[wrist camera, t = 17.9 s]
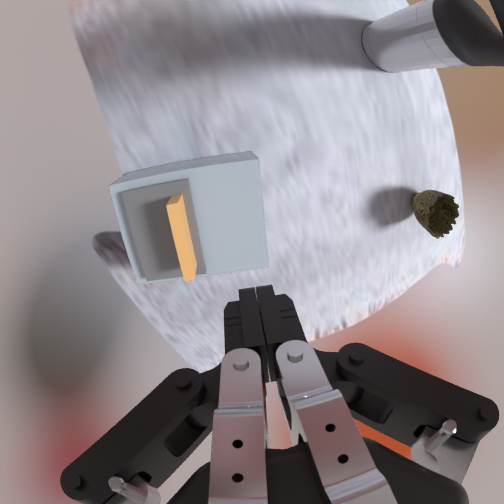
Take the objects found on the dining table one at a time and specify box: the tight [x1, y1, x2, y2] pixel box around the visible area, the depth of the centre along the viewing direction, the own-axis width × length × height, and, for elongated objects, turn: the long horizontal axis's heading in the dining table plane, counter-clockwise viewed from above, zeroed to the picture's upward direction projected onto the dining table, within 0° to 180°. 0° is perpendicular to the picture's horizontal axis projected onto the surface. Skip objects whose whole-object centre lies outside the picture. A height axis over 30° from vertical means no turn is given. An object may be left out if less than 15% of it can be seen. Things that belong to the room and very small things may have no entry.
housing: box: [109, 151, 269, 284], centre depth 36 cm, size 18×14×8 cm
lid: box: [122, 178, 207, 281], centre depth 30 cm, size 8×12×4 cm, turn 6°
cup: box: [411, 190, 459, 239], centre depth 39 cm, size 8×7×8 cm
